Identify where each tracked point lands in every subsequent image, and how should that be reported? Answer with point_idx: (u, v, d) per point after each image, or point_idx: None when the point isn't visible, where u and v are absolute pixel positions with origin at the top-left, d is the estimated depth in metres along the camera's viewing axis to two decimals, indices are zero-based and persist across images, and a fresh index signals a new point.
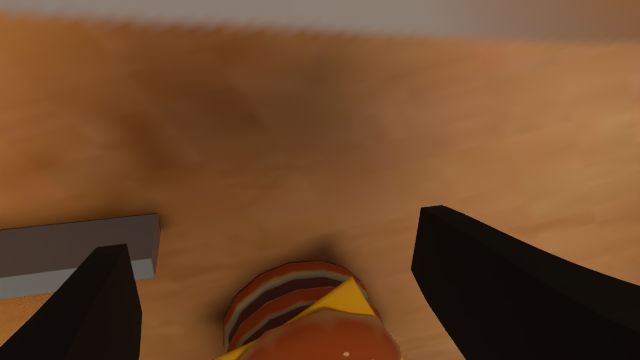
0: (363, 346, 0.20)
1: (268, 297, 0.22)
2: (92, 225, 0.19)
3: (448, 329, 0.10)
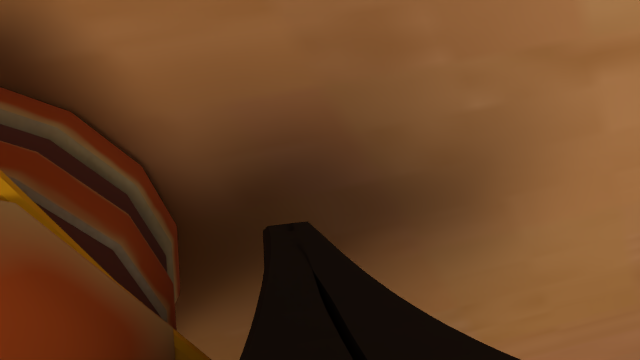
0: None
1: None
2: None
3: None
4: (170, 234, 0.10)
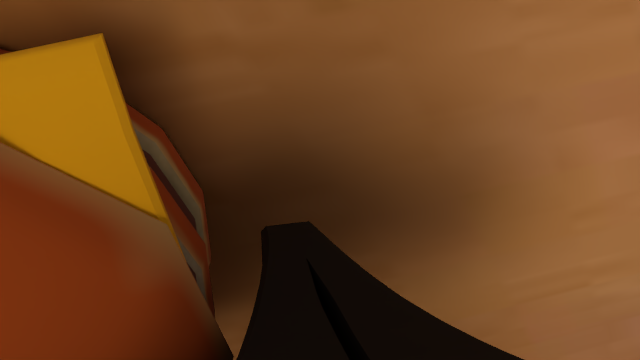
0: (42, 302, 0.04)
1: None
2: None
3: None
4: (208, 258, 0.10)
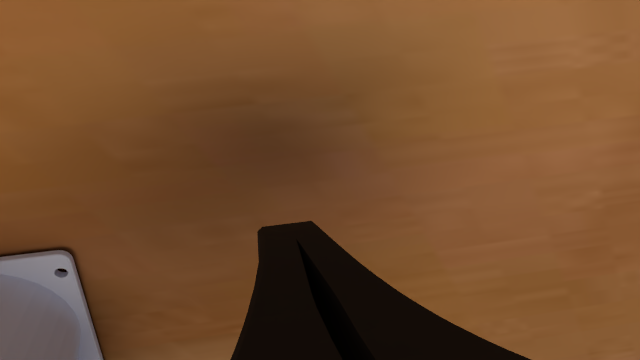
0: None
1: None
2: None
3: None
4: None
